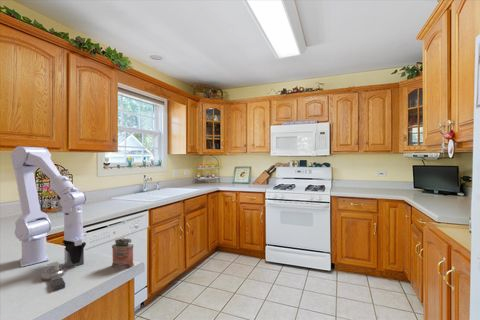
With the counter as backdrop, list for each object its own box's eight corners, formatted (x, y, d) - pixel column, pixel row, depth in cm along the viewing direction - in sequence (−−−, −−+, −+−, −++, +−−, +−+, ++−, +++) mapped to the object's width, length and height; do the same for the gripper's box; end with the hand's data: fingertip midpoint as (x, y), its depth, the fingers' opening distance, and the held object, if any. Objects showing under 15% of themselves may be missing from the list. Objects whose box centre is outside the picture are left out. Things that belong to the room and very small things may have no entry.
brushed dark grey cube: (64, 264, 89) (64, 248, 89) (80, 260, 92) (80, 244, 92) (67, 268, 85) (67, 251, 85) (83, 264, 89) (83, 247, 89)
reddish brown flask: (109, 267, 86) (109, 239, 86) (116, 263, 89) (115, 236, 89) (130, 268, 84) (129, 240, 84) (135, 264, 88) (135, 237, 88)
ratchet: (40, 276, 80) (40, 264, 80) (62, 270, 84) (62, 258, 84) (46, 293, 69) (46, 279, 69) (71, 285, 73) (71, 272, 73)
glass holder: (73, 210, 190) (73, 191, 190) (55, 214, 176) (55, 194, 176) (64, 210, 192) (64, 191, 192) (46, 214, 178) (46, 193, 178)
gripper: (91, 225, 87) (91, 262, 87) (81, 218, 97) (81, 252, 97) (67, 229, 82) (68, 269, 82) (59, 222, 92) (60, 257, 92)
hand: (74, 260), depth 89 cm, fingers open, 6 cm apart
